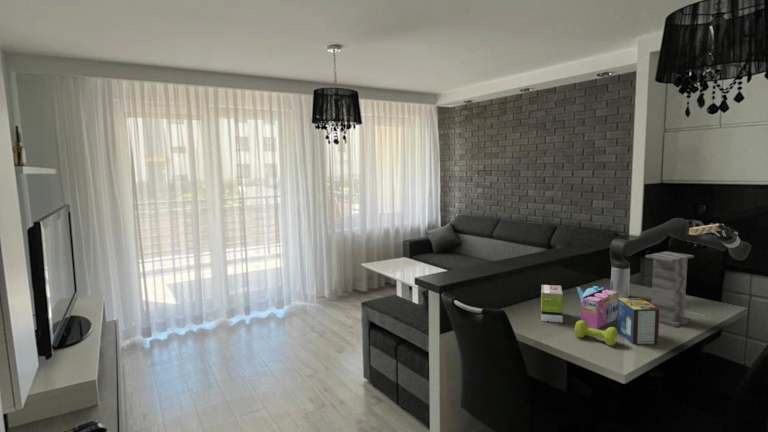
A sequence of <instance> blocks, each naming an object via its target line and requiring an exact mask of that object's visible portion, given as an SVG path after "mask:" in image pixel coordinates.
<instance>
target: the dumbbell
mask: <svg viewBox="0 0 768 432" xmlns="http://www.w3.org/2000/svg"><path fill="white" fill-rule="evenodd" d="M574 335H575V337H576V338H578V339H579V338H580V339H583V338H585V337H586V335H590V336H593V337H597V338H602V339H604V342H605V344H606V345H608V346H610V347H613V346H615V345H616V344H617V342H618V336H619V332H618V331H617V327H613V326H610V327H608V328H606V329H605V330H601V329H599V328H598V329H595V328H591V327H587V324H586V322H585V321H583V320H581V319H579V320H577V321H576V322H575V325H574Z"/></svg>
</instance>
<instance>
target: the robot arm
mask: <svg viewBox="0 0 768 432" xmlns="http://www.w3.org/2000/svg"><path fill="white" fill-rule="evenodd" d="M712 224H715V223H714V222H711V223H710V224H709V225H712ZM718 224H719V225H718V228H719V229H720V230H721V231H715V232H709V233H704V234H698V235H692V234H689V232H688V233H687V232H686V231H687V230H688V229H689V228H688V227H689V222H688V221H687V220H686V219H685V218H683V217H675V218H674V217H673V218H671V219H669V220H668V221H666V222H664V223H662V224H659V225H657V226H654V227H651V228H649V229H646V230H643V231H641V232H640V233H639V235H638V237H637V238H633V239H631V240H628V239H622V238H614V239H613V240H612V241H611V242H610V246H609V247H610V248H609V256H610V257H609V259H610V264H611V270H610V271H611V273H610V285H609V286H610V288H609V289H610V291H614V292H617V291H619V298H629V297H630V280H631V279H630V277H631V276H630V275H631V263H630V262H629V261H628V260H626V258H625V257H631V256H632V255H634V254H636V253H638V252H640V251H642V250H645V249H647V248H649V247H653V246H655V245H657V244H660V243H661V242H663V241H664V240H665V239H666V238H667V237H668V236H669V237H671V238H673V239H677V240H681V241H686V242H689V243H693V244H694V243H695V244H699V245H704V246H707V247H711V248H713V249H716V250H719V251H722V252H724V251H726V250H728V253H729V255H730V256H731V257H732V258H733V259H734V260H737V261H744V260H745V259H747V257H748V255H749V253H750V251H751V249H752V245H751V244H750V243H749V242H747V241H743V240H741V238H740V237H739V236H738V234H739V230H735V229H734V228H732V227H730V226H725V225H724V226H723V225H722V224H723V223H718ZM711 233H713V234H711Z"/></svg>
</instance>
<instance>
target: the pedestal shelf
mask: <svg viewBox="0 0 768 432" xmlns="http://www.w3.org/2000/svg"><path fill="white" fill-rule="evenodd" d="M644 257H645V258H647V259H652V281H651V300H650V301H651V302H650V304H652V305H653V306H655V307H657V308H658V309H660V310H659V324H662V325H666V326H668V327H671V328H676V327H680V326H682V325H685V324H688V323H692V318H690V317H687V316H685V308H686V294H687V275H688V259H693V258H694V257H695V256H694V255H693V254H687V253H680V252H673V251H667V250H666V251H662V252H657V253H655V252H654V253H651V254H646V255H645V256H644Z"/></svg>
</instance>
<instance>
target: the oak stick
mask: <svg viewBox="0 0 768 432" xmlns="http://www.w3.org/2000/svg"><path fill="white" fill-rule="evenodd" d="M721 224H722V225H723V226H725V224H724V223H721ZM718 225H719V223H714V224H712V225H710V224H707V225H700V226H693V227H689V228H688V234H692V235H704V234H710V233H709V232H715V231H721V230H720V229H719V228H718Z"/></svg>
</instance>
